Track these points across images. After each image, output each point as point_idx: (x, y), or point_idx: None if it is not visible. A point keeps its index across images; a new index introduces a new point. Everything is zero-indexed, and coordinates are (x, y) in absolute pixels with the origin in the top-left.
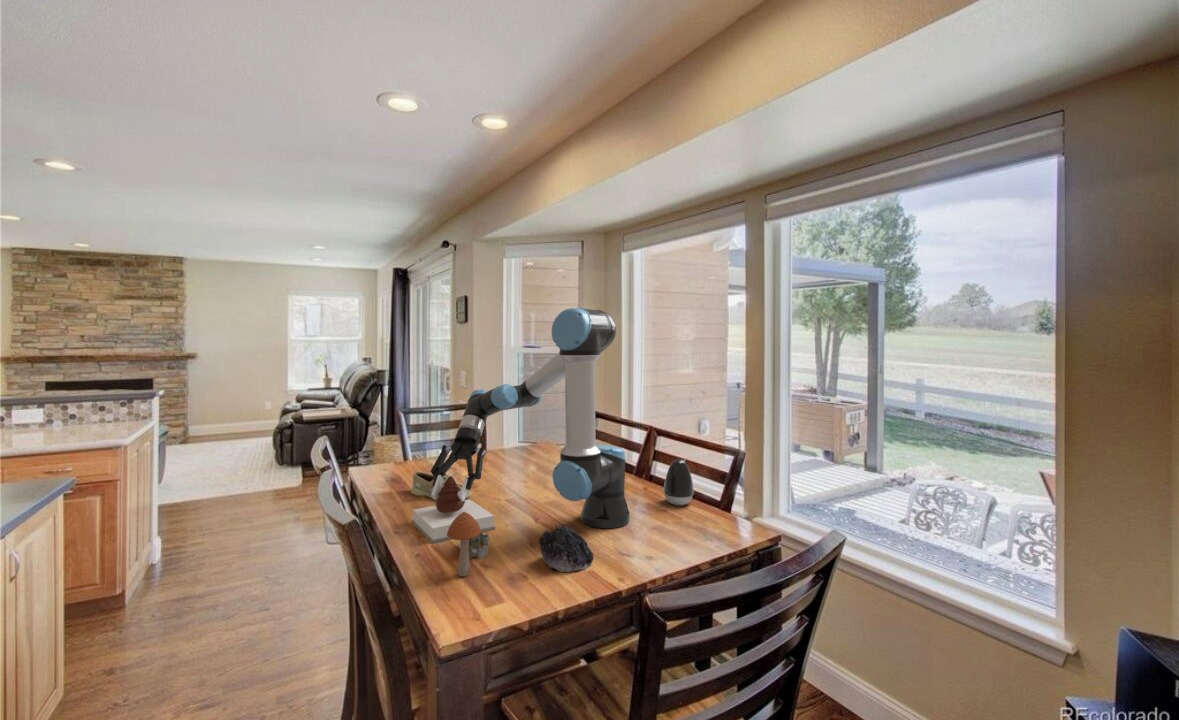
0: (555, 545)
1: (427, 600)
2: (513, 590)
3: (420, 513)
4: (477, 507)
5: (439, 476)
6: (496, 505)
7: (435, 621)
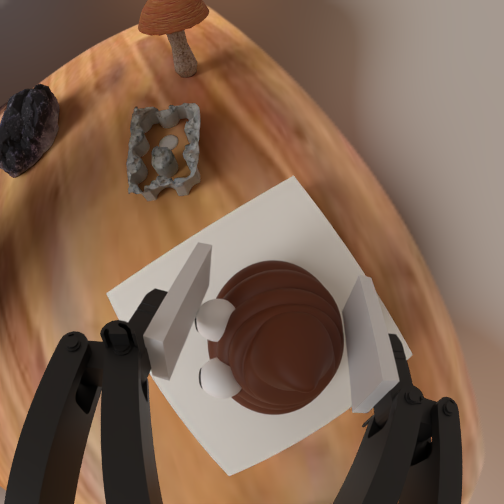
0: (38, 84)
1: (231, 31)
2: (120, 58)
3: None
4: (175, 390)
5: (386, 370)
6: None
7: (213, 13)
